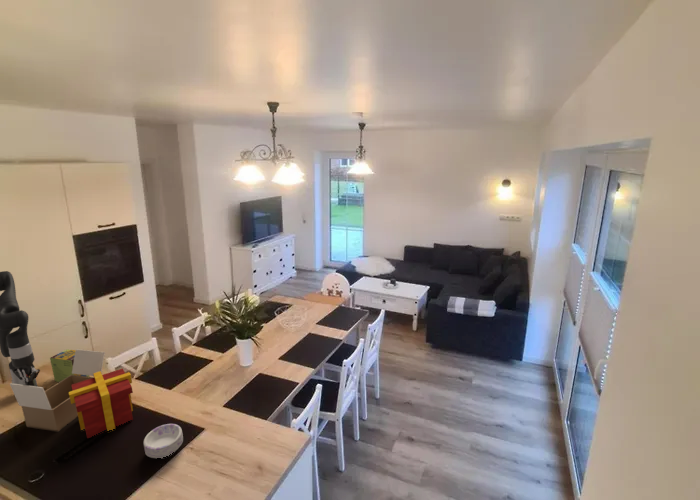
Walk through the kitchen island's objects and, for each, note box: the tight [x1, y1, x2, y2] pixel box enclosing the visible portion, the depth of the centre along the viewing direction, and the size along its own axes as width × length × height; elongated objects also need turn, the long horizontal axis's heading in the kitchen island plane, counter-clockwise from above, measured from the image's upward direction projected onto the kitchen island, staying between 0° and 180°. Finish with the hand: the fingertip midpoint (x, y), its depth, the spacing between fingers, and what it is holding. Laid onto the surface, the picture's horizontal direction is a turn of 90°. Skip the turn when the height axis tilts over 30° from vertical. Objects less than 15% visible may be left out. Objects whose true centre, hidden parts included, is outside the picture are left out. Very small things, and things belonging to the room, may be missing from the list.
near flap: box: [9, 382, 52, 410], centre depth 169 cm, size 18×13×1 cm
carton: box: [21, 375, 94, 433], centre depth 186 cm, size 18×26×12 cm
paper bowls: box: [143, 423, 184, 459], centre depth 161 cm, size 15×15×8 cm
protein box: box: [49, 349, 90, 383], centre depth 214 cm, size 10×15×16 cm
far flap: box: [72, 348, 106, 377], centre depth 198 cm, size 18×13×1 cm
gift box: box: [69, 368, 134, 439], centre depth 179 cm, size 25×25×20 cm
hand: (30, 387), depth 168 cm, fingers closed
